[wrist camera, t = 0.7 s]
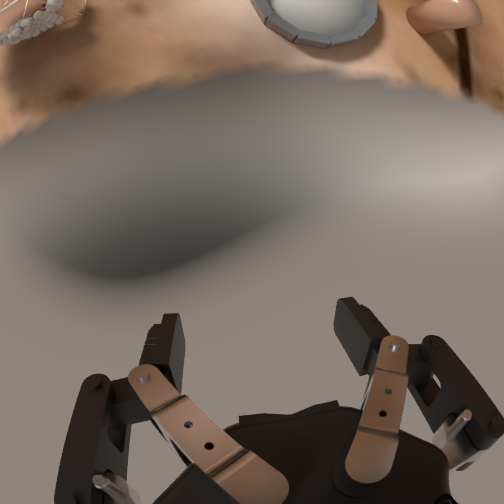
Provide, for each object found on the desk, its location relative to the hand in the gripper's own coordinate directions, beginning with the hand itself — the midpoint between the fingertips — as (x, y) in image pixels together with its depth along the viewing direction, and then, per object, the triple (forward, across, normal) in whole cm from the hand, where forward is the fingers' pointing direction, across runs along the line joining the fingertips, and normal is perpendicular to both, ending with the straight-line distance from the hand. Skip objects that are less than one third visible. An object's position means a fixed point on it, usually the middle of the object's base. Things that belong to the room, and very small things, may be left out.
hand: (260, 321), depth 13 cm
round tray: (+21, -11, -30) cm, 38 cm away
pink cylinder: (+19, -28, -31) cm, 46 cm away
